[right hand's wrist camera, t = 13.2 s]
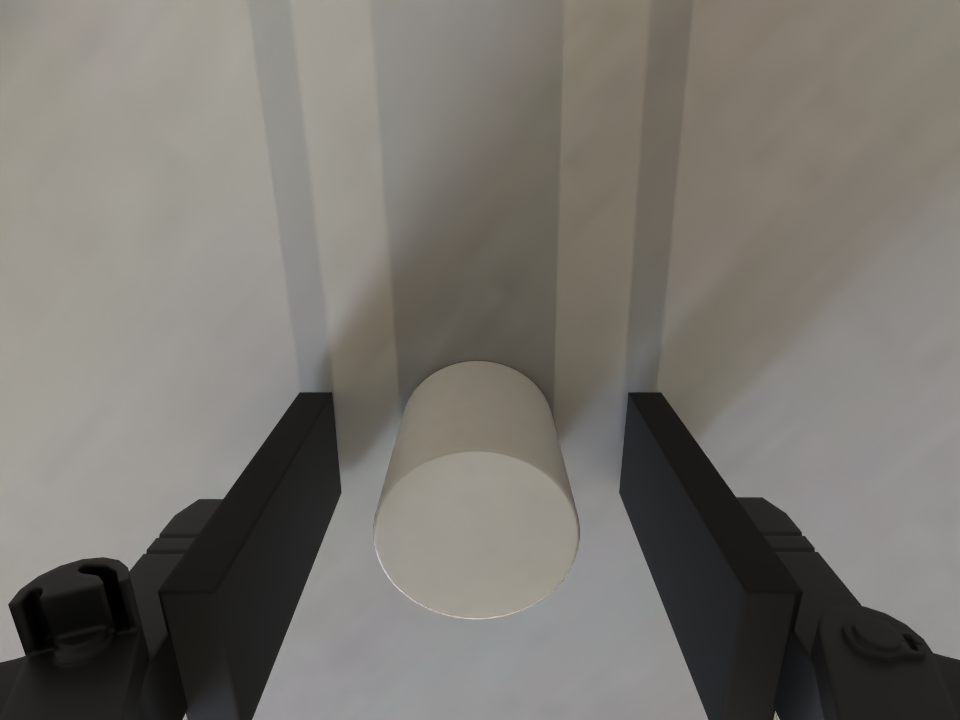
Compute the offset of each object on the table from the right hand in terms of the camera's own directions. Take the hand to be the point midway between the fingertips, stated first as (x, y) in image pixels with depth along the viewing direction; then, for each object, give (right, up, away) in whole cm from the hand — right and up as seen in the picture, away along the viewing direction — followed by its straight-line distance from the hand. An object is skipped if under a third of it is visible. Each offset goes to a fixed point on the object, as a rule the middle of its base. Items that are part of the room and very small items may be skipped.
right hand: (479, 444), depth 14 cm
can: (0, 0, 0) cm, 0 cm away
